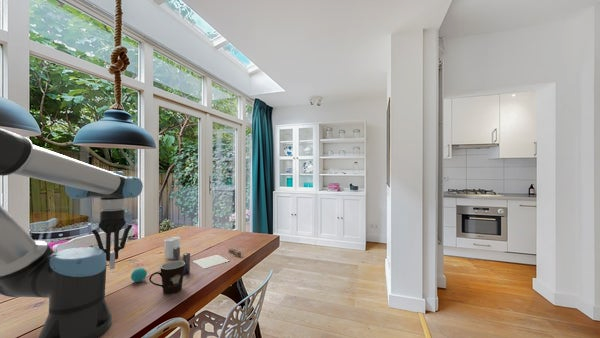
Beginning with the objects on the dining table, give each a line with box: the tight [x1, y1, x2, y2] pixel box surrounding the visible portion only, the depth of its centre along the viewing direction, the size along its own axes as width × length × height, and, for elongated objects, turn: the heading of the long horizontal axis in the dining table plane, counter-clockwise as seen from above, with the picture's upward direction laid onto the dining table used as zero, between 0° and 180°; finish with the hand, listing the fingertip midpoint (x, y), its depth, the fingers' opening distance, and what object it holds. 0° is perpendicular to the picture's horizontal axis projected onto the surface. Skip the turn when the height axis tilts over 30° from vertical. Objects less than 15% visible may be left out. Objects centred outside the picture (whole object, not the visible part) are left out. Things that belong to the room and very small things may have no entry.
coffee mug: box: [148, 260, 185, 295], centre depth 90 cm, size 12×9×10 cm
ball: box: [130, 267, 148, 283], centre depth 98 cm, size 6×6×6 cm
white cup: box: [163, 236, 181, 260], centre depth 128 cm, size 8×8×10 cm
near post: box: [182, 252, 191, 276], centre depth 106 cm, size 3×3×9 cm
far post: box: [172, 246, 181, 261], centre depth 115 cm, size 3×3×9 cm
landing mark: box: [192, 254, 230, 270], centre depth 121 cm, size 14×14×1 cm
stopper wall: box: [228, 248, 242, 258], centre depth 132 cm, size 10×2×2 cm, turn 47°
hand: (111, 268), depth 92 cm, fingers closed
